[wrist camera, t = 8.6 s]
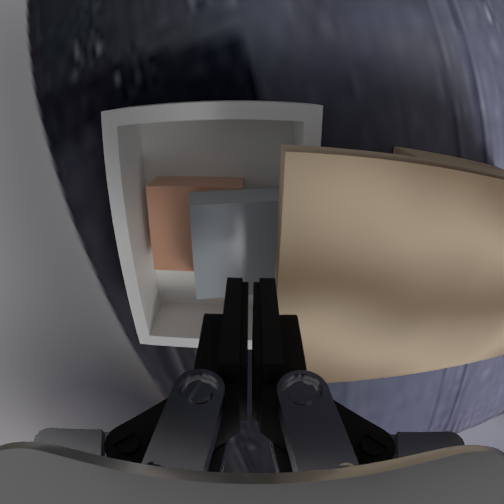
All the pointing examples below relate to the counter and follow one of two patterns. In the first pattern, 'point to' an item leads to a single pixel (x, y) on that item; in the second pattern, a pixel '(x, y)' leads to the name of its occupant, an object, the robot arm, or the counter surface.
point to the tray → (188, 164)
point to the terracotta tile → (177, 216)
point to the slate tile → (232, 237)
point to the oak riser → (390, 259)
